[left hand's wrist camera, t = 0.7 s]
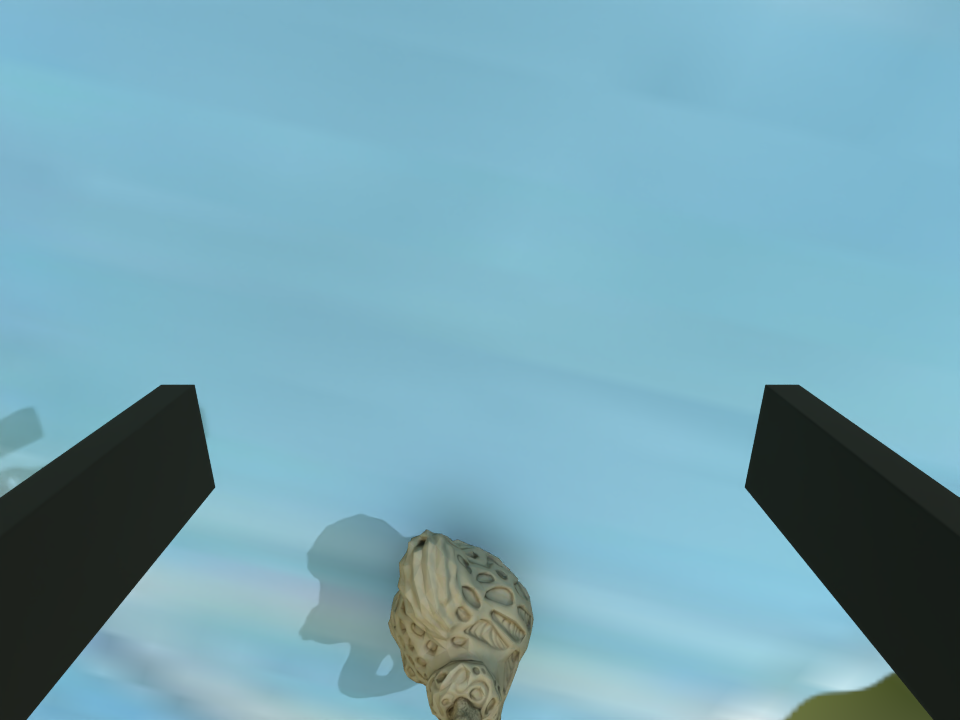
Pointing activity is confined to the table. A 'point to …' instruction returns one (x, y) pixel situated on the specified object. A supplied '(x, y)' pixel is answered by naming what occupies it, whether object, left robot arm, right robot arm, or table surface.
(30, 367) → the table surface
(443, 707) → the beige patterned figurine
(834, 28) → the table surface
